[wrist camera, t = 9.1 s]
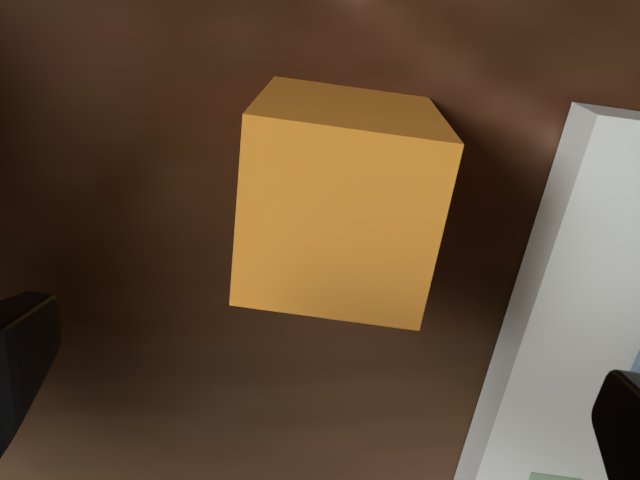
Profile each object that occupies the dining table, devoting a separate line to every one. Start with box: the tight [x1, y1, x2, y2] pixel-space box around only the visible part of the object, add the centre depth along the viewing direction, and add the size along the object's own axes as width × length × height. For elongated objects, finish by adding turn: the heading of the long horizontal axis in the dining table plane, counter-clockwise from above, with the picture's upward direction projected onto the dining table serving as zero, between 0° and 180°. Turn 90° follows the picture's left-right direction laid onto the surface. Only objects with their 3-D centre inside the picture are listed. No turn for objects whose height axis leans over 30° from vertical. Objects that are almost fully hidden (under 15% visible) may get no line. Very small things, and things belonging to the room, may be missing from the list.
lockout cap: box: [229, 76, 464, 331], centre depth 16 cm, size 5×5×6 cm
